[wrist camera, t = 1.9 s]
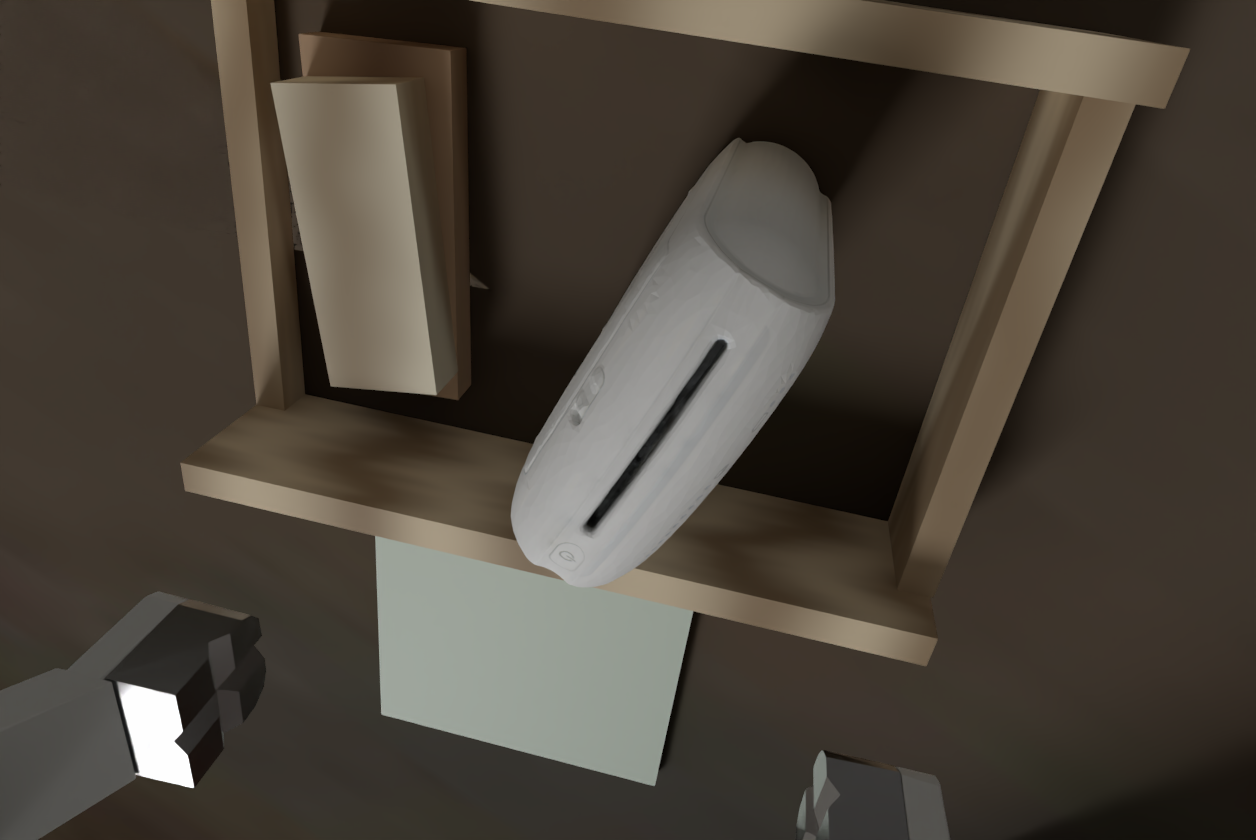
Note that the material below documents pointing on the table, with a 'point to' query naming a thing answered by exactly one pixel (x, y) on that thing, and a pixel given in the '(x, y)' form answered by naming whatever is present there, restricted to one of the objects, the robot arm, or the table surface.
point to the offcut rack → (728, 517)
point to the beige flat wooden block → (449, 147)
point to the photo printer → (682, 368)
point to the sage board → (527, 660)
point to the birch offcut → (370, 228)
